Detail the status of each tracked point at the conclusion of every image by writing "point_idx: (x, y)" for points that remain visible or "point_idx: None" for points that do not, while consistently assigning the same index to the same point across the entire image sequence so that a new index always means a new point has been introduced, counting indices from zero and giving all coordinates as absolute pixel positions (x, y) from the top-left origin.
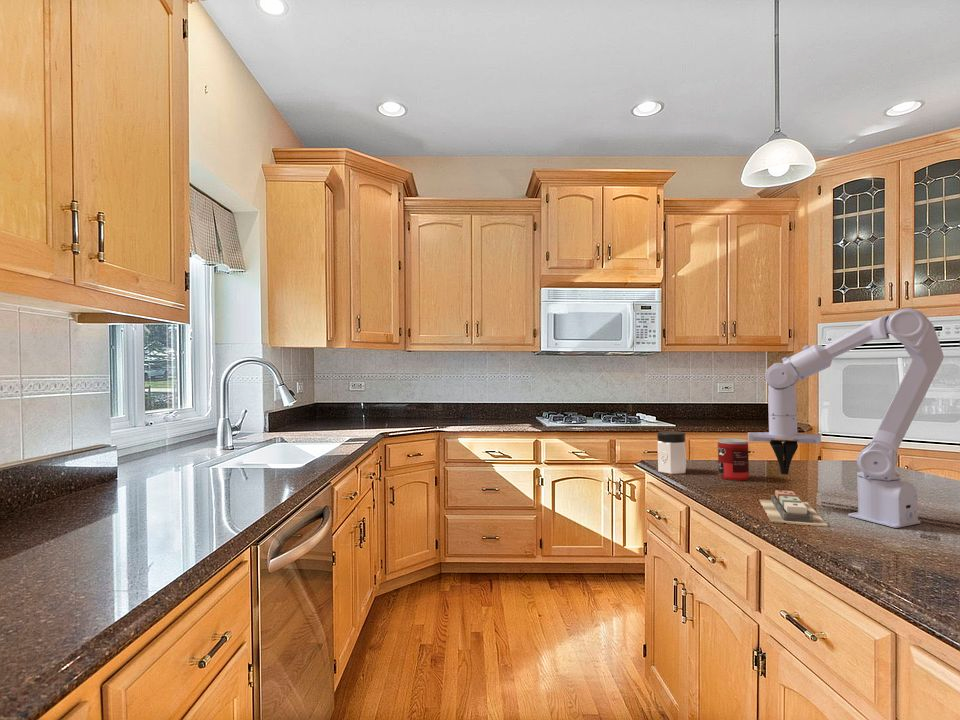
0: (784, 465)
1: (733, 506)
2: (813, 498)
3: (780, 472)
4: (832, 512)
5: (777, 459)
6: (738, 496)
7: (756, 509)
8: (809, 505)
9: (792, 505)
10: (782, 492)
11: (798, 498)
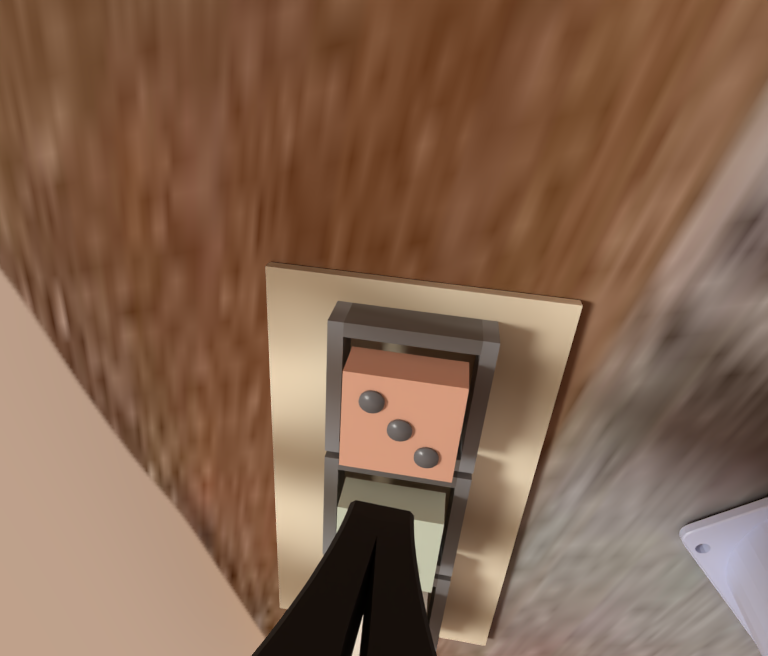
0: (366, 616)
1: (127, 399)
2: (745, 88)
3: (349, 507)
4: (639, 460)
5: (287, 617)
6: (133, 141)
7: (239, 440)
8: (555, 383)
9: (359, 651)
10: (378, 433)
11: (434, 553)
